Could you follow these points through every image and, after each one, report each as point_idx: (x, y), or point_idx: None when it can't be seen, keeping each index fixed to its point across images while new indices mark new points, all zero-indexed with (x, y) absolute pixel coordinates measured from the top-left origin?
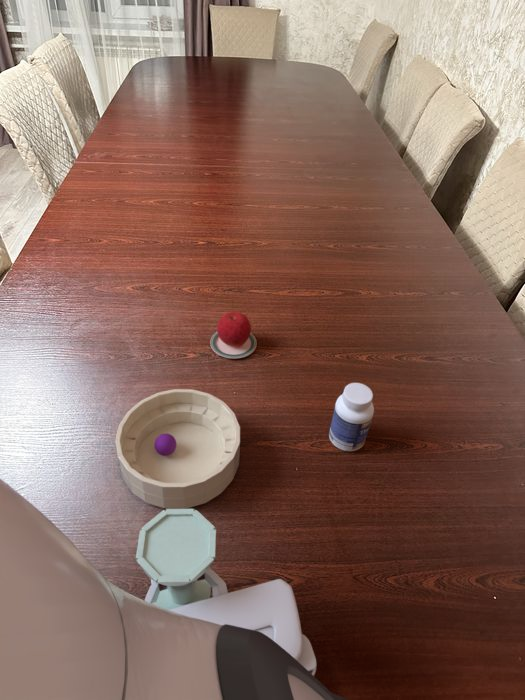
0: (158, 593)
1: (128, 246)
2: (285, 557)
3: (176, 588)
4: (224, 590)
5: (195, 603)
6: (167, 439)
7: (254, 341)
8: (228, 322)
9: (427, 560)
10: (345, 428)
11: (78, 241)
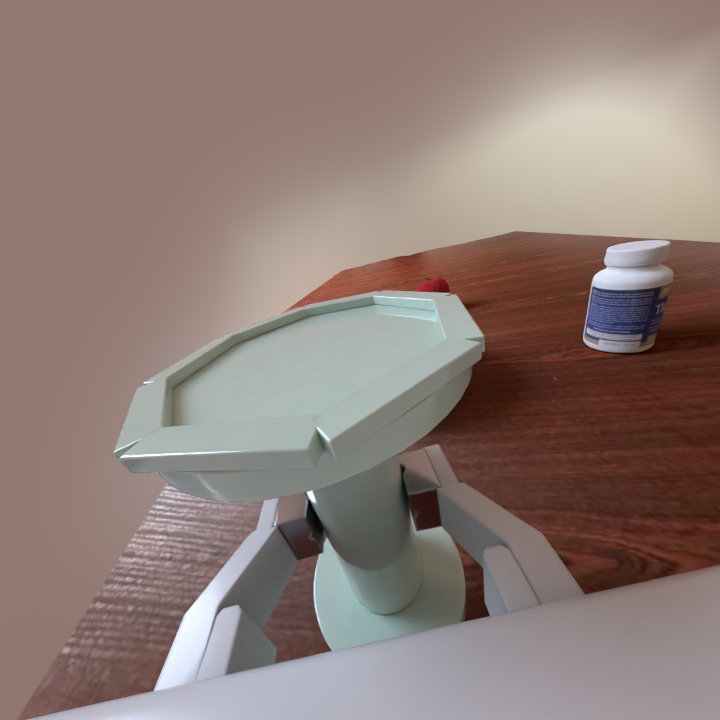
0: (288, 566)
1: (351, 293)
2: (617, 506)
3: (347, 552)
4: (554, 574)
5: (407, 648)
6: None
7: None
8: (426, 282)
9: None
10: (625, 306)
11: (320, 298)
